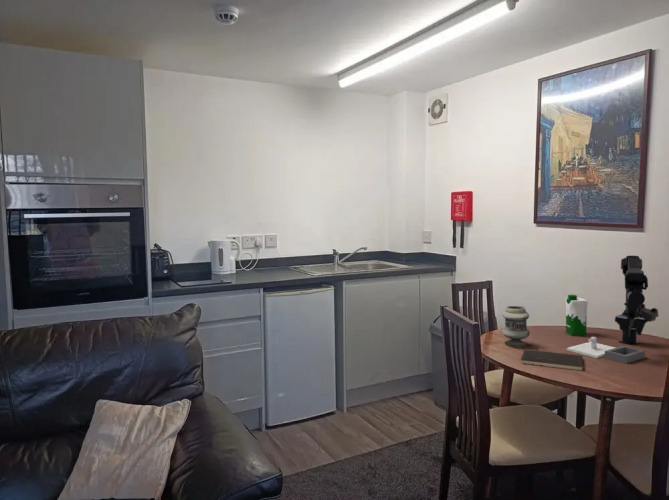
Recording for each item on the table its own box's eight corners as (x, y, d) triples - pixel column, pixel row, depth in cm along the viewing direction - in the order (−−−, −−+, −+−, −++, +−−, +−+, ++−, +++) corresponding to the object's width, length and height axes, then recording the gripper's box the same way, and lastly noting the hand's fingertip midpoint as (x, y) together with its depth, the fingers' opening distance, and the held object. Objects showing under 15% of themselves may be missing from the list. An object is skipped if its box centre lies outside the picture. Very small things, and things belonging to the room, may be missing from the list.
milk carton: (562, 332, 243) (563, 293, 241) (580, 331, 243) (581, 293, 241) (571, 336, 234) (572, 297, 233) (589, 336, 234) (590, 296, 232)
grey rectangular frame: (623, 352, 208) (623, 345, 207) (644, 357, 200) (645, 350, 199) (604, 357, 201) (604, 351, 200) (626, 363, 193) (626, 356, 193)
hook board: (590, 343, 222) (591, 331, 221) (620, 351, 209) (621, 337, 209) (566, 350, 213) (567, 337, 212) (597, 358, 201) (597, 344, 200)
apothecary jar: (499, 340, 230) (499, 304, 229) (523, 340, 230) (524, 304, 228) (507, 347, 218) (507, 309, 216) (533, 347, 218) (533, 309, 216)
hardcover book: (582, 372, 186) (582, 366, 186) (520, 364, 196) (520, 359, 196) (582, 360, 200) (582, 355, 200) (524, 353, 211) (524, 348, 210)
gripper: (642, 306, 190) (641, 344, 191) (666, 301, 199) (665, 337, 200) (614, 302, 199) (613, 338, 201) (638, 297, 209) (637, 331, 210)
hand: (633, 336), depth 203 cm, fingers open, 9 cm apart
